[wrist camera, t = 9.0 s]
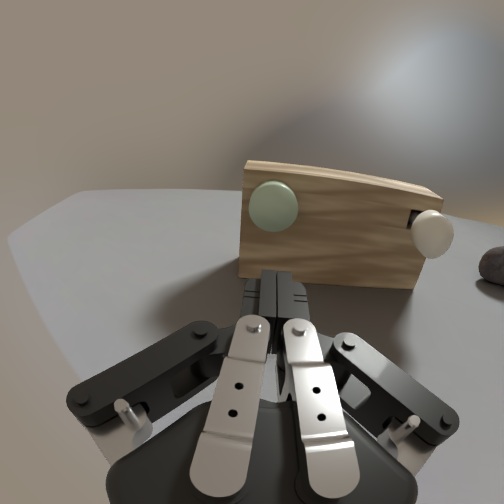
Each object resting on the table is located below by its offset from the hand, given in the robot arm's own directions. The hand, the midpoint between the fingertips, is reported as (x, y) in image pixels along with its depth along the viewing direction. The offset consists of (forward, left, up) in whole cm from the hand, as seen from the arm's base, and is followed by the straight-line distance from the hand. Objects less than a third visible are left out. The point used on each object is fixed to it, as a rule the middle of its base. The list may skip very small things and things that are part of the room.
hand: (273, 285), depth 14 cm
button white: (-16, -12, -2) cm, 20 cm away
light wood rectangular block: (-8, -16, -9) cm, 20 cm away
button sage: (0, -14, -2) cm, 15 cm away
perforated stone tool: (-42, -17, -9) cm, 46 cm away
